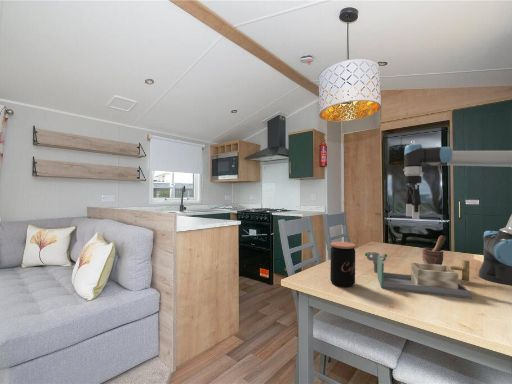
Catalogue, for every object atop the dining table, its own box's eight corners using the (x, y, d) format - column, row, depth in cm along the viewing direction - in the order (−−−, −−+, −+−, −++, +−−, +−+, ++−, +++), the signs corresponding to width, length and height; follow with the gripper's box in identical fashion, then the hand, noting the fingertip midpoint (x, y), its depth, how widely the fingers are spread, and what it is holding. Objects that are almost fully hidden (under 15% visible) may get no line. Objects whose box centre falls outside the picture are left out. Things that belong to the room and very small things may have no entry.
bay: (456, 285, 115) (456, 261, 115) (471, 298, 101) (471, 271, 101) (377, 277, 125) (377, 255, 125) (381, 288, 111) (381, 263, 111)
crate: (462, 285, 113) (463, 257, 113) (475, 295, 102) (476, 265, 101) (410, 279, 119) (411, 253, 119) (417, 289, 108) (418, 260, 108)
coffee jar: (342, 289, 109) (343, 247, 109) (325, 281, 119) (325, 242, 119) (360, 285, 114) (360, 245, 114) (342, 278, 124) (342, 240, 124)
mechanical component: (387, 273, 131) (387, 254, 130) (365, 272, 133) (365, 253, 133) (385, 272, 133) (385, 252, 133) (364, 270, 136) (364, 251, 135)
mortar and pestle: (429, 270, 136) (429, 233, 136) (448, 275, 129) (448, 235, 128) (419, 275, 129) (419, 235, 129) (439, 280, 122) (439, 238, 122)
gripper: (399, 176, 143) (399, 215, 143) (410, 174, 119) (409, 219, 120) (415, 176, 140) (414, 215, 141) (428, 173, 117) (428, 220, 117)
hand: (412, 217), depth 130 cm, fingers open, 13 cm apart
